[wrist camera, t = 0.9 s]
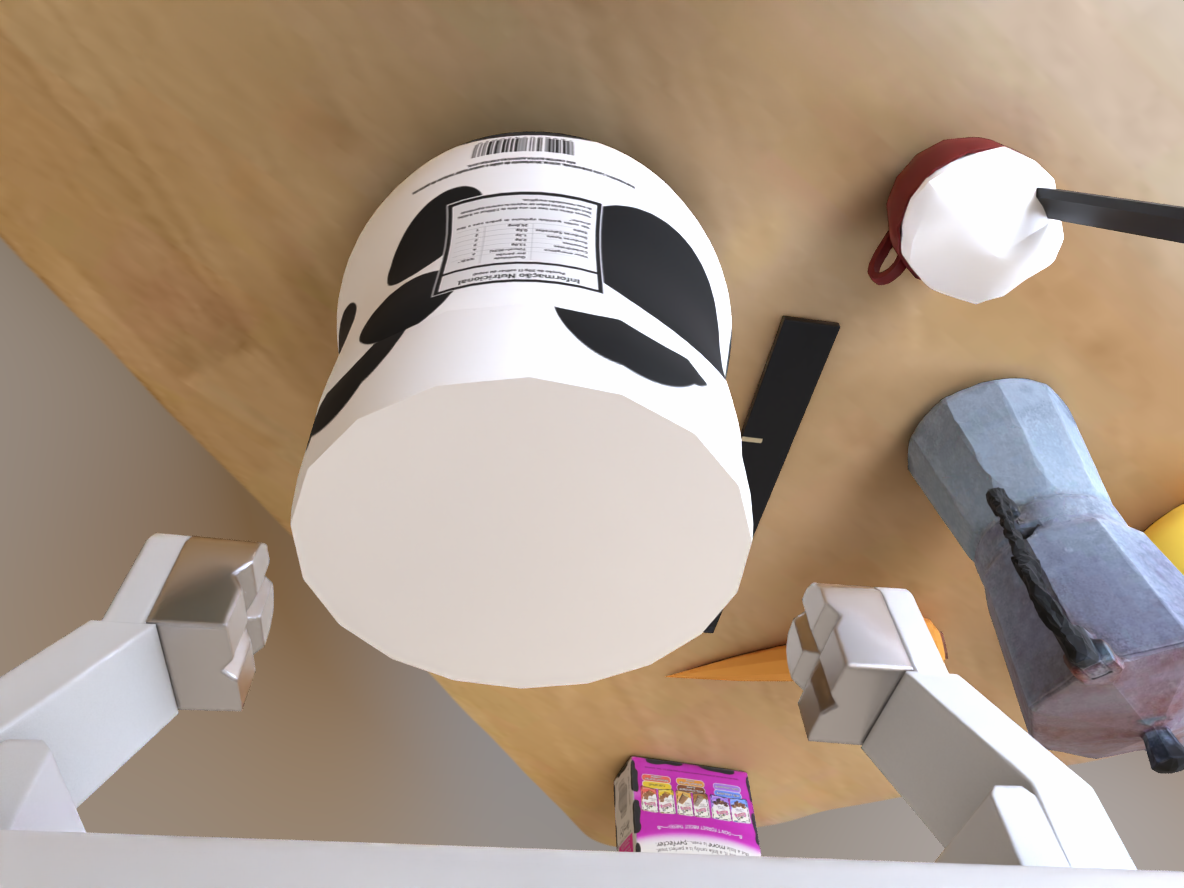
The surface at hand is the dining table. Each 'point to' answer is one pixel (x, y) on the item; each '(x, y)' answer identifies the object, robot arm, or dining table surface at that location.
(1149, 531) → the teapot
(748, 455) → the ruler
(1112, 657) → the moka pot
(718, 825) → the candy bar box
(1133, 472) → the dining table surface
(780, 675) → the carrot
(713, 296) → the milk container
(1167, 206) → the cocoa
